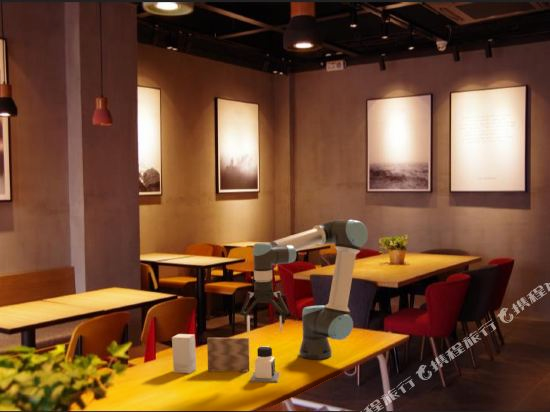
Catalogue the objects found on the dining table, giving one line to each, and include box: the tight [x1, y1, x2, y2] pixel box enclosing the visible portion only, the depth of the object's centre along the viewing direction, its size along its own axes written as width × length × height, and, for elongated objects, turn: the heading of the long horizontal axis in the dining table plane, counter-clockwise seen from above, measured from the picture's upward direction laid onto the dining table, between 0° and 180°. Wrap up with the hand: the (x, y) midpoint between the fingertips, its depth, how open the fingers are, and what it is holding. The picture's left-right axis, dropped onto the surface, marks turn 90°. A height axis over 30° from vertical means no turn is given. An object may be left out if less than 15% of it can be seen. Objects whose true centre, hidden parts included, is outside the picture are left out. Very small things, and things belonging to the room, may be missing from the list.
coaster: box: [249, 371, 280, 383], centre depth 247 cm, size 11×11×1 cm
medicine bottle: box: [254, 345, 276, 379], centre depth 247 cm, size 7×7×12 cm
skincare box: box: [171, 333, 197, 374], centre depth 258 cm, size 8×7×16 cm
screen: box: [206, 337, 250, 373], centre depth 258 cm, size 18×6×14 cm, turn 85°
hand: (264, 331), depth 247 cm, fingers open, 13 cm apart
